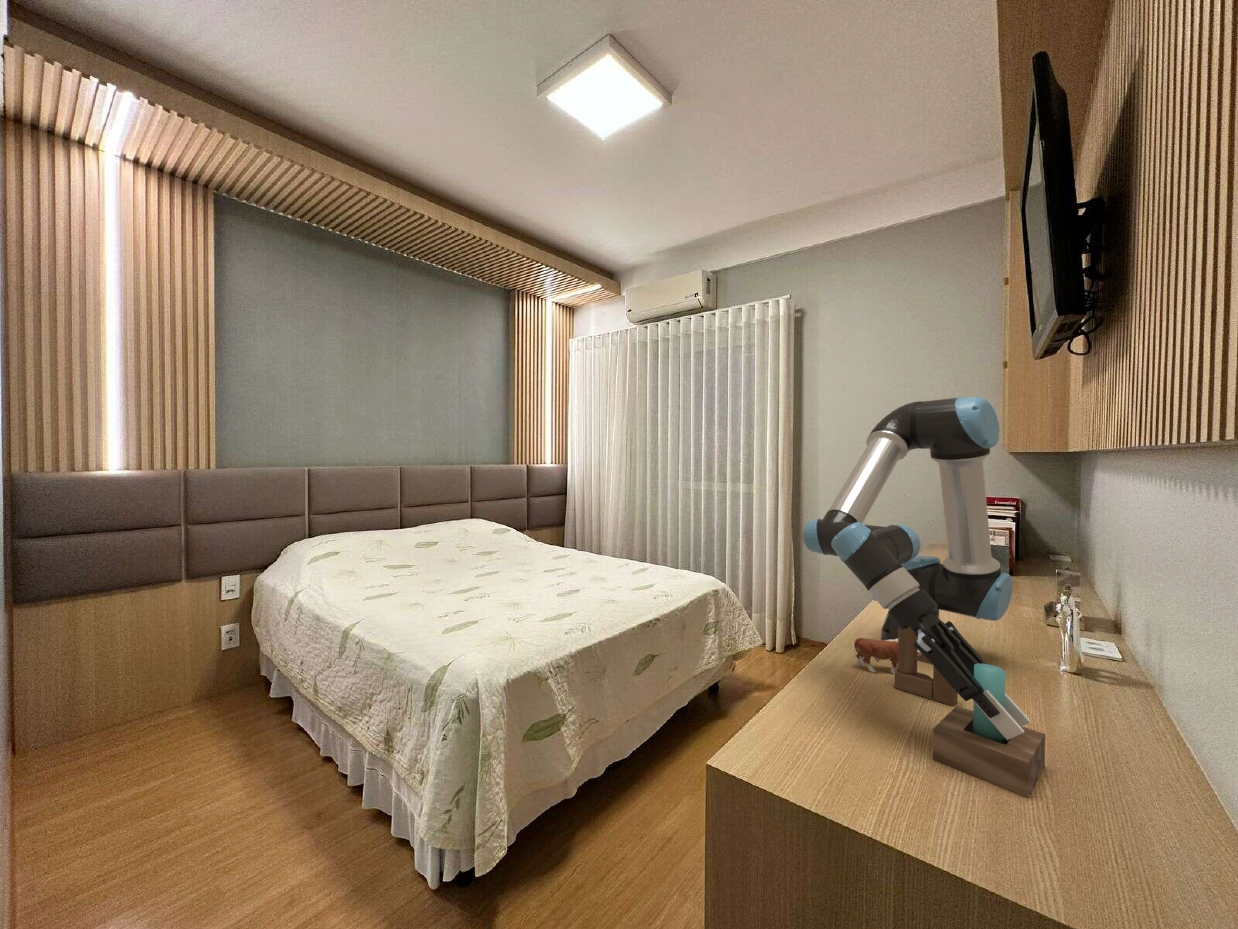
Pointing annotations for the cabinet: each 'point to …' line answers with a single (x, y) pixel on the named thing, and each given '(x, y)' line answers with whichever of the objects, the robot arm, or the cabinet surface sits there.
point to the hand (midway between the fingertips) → (1018, 730)
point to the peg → (995, 684)
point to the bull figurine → (877, 652)
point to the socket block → (989, 753)
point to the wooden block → (917, 681)
